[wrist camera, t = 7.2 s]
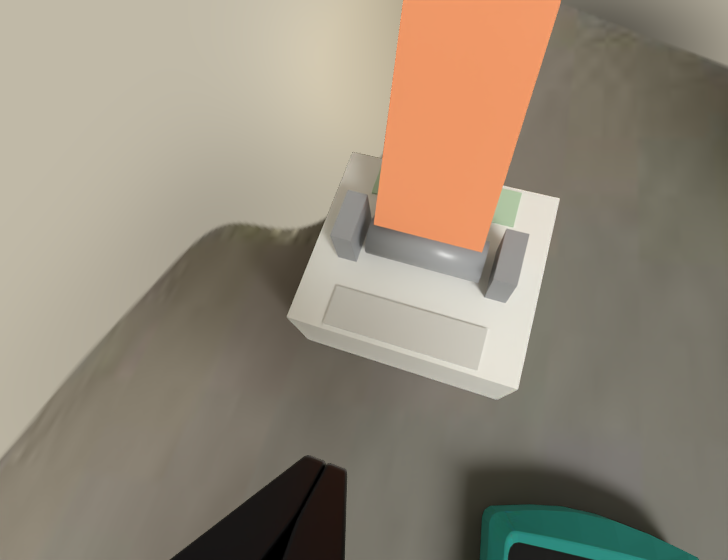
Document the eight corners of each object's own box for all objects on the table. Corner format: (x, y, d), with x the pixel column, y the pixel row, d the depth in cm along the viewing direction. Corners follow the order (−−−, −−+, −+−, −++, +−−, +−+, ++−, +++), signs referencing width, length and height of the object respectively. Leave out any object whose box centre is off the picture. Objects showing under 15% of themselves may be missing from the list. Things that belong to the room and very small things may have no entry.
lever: (475, 291, 16) (598, -87, 10) (363, 260, 17) (408, -106, 11) (480, 268, 18) (592, -81, 11) (375, 240, 18) (422, -98, 12)
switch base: (496, 399, 19) (532, 382, 14) (308, 339, 21) (271, 301, 16) (533, 240, 22) (577, 170, 16) (361, 198, 24) (346, 121, 18)
